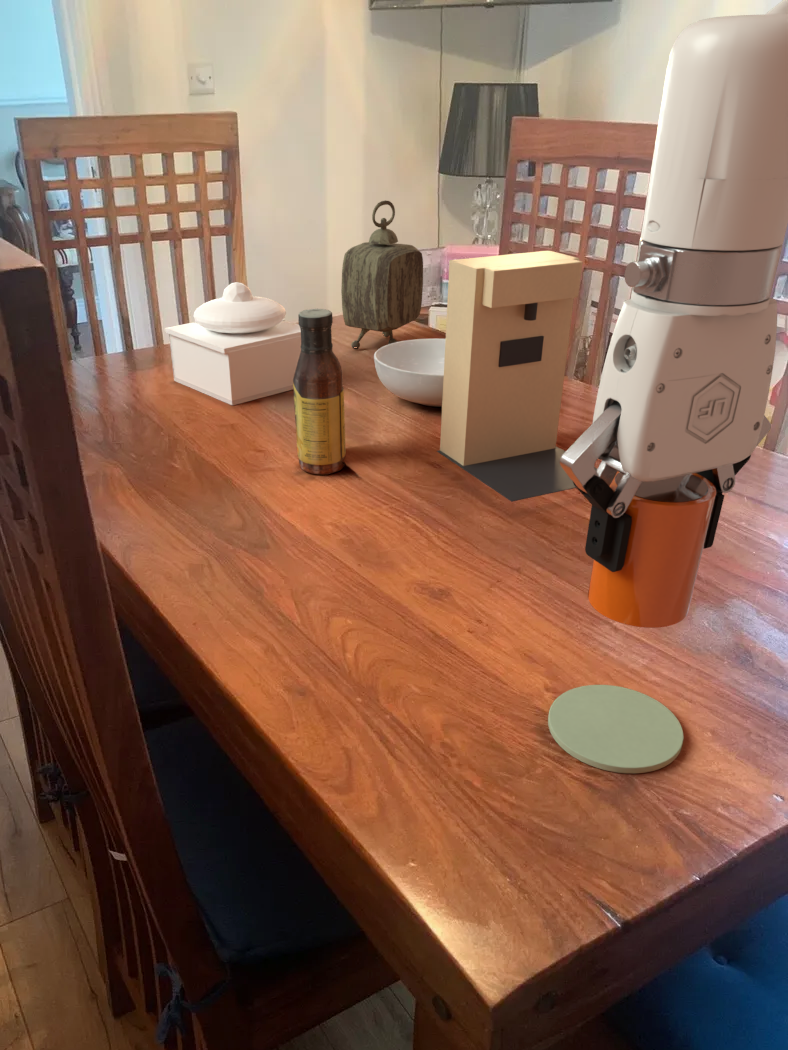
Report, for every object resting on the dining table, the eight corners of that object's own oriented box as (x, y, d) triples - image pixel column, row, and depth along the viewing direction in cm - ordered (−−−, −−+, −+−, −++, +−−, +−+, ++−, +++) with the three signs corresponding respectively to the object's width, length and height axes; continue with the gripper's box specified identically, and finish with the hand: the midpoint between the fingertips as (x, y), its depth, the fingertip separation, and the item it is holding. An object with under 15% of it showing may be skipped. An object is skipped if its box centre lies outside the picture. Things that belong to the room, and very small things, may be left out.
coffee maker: (435, 461, 114) (445, 260, 101) (531, 443, 119) (552, 250, 106) (510, 513, 100) (532, 288, 87) (614, 490, 105) (650, 274, 92)
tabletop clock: (384, 334, 170) (386, 195, 157) (423, 340, 166) (429, 198, 153) (341, 350, 160) (340, 203, 147) (382, 358, 156) (385, 207, 143)
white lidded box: (319, 382, 144) (316, 282, 135) (229, 406, 134) (220, 300, 126) (257, 360, 155) (251, 267, 147) (170, 381, 145) (159, 282, 137)
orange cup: (642, 570, 65) (665, 456, 60) (710, 614, 59) (740, 493, 55) (568, 590, 62) (585, 473, 58) (631, 637, 57) (656, 513, 52)
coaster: (622, 678, 72) (623, 672, 72) (711, 750, 64) (713, 744, 64) (522, 709, 69) (523, 703, 69) (603, 789, 61) (604, 783, 61)
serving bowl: (495, 426, 125) (499, 379, 121) (357, 413, 130) (357, 368, 127) (516, 384, 141) (520, 342, 138) (393, 374, 147) (394, 333, 144)
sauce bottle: (316, 455, 116) (312, 302, 106) (355, 465, 113) (354, 308, 103) (286, 471, 111) (279, 313, 101) (325, 481, 108) (322, 320, 98)
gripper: (625, 304, 43) (578, 605, 53) (867, 273, 49) (787, 549, 59) (537, 277, 49) (509, 553, 59) (763, 253, 55) (705, 506, 64)
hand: (648, 549), depth 58 cm, fingers closed on orange cup, 6 cm apart
